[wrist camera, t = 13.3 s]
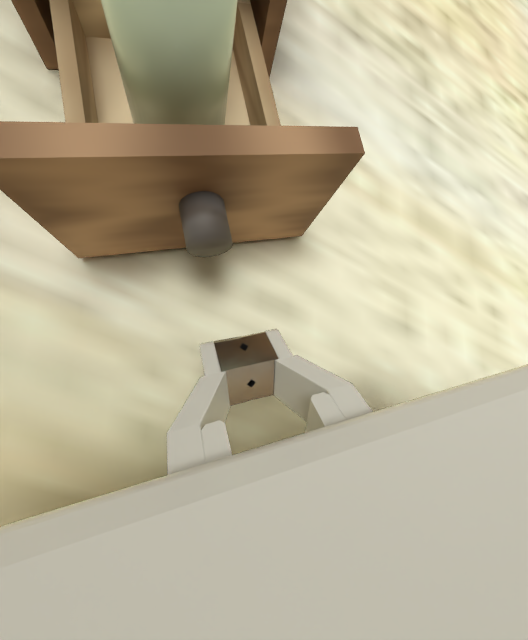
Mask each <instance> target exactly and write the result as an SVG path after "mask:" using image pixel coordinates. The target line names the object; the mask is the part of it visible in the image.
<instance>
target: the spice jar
mask: <svg viewBox="0 0 528 640" xmlns="http://www.w3.org/2000/svg"><path fill="white" fill-rule="evenodd" d="M101 3H102V7H103V10H104V14H105V18H106V22H107V25H108V29H109V33H110V37H111V41H112V44H113V48H114V52H115V56H116V59H117V63H118V67H119V71H120V74H121V78H122V82H123V86H124V89H125V93H126V97H127V101H128V104H129V108H130V112H131V116H132V119H133V123H134V124H195V125H225V117H226V108H227V98H228V88H229V78H230V68H231V59H232V49H233V39H234V29H235V19H236V9H237V0H101Z"/></svg>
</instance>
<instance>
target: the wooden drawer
mask: <svg viewBox="0 0 528 640" xmlns="http://www.w3.org/2000/svg"><path fill="white" fill-rule="evenodd" d="M49 1H50V9H51V16H52V24H53V31H54V39H55V46H56V54H57V61H58V69H59V76H60V84H61V91H62V99H63V106H64V114H65V121H66V122H2V121H0V190H1V191H3V192H4V193H5V194H6V195H7V196H8V197H9V198H10V199H12V200H13V201H14V202H15V203H16V204H17V205H18V206H20V207H21V208H22V209H23V210H24V211H25V212H26V213H28V214H29V215H30V216H31V217H32V218H33V219H34V220H36V221H37V222H38V223H39V224H40V225H41V226H42V227H44V228H45V229H46V230H47V231H48V232H49V233H50V234H52V235H53V236H54V237H55V238H56V239H57V240H58V241H60V242H61V243H62V244H63V245H64V246H65V247H66V248H68V249H69V250H70V251H71V252H72V253H73V254H74V255H76V256H77V257H78V258H86V257H96V256H106V255H116V254H126V253H136V252H146V251H156V250H166V249H176V248H186V249H187V252H188V253H189V254H191V255H193V256H198V257H210V256H216V255H220V254H222V253H225V252H227V251H228V250H229V249H231V247H232V245H233V243H236V242H246V241H255V240H265V239H275V238H285V237H295V236H302V235H303V234H304V232H305V231H306V230H307V228H308V227H309V226H310V225H311V223H312V222H313V221H314V219H315V218H316V217H317V215H318V214H319V213H320V211H321V210H322V209H323V207H324V206H325V205H326V204H327V202H328V201H329V200H330V198H331V197H332V196H333V194H334V193H335V192H336V190H337V189H338V188H339V186H340V185H341V184H342V183H343V181H344V180H345V179H346V177H347V176H348V175H349V173H350V172H351V171H352V169H353V168H354V167H355V166H356V164H357V163H358V162H359V160H360V159H361V158H362V156H363V155H364V154H365V152H364V148H363V145H362V141H361V138H360V134H359V131H358V127H324V126H281V125H280V121H279V117H278V113H277V108H276V104H275V100H274V96H273V92H272V88H271V84H270V80H269V76H268V72H267V68H266V64H265V60H264V56H263V52H262V48H261V44H260V39H259V35H258V31H257V27H256V23H255V19H254V15H253V11H252V7H251V3H250V0H237V9H236V19H235V29H234V39H233V49H232V59H231V68H230V78H229V88H228V98H227V108H226V117H225V125H195V124H134V123H133V119H132V116H131V112H130V108H129V104H128V101H127V97H126V93H125V89H124V86H123V82H122V78H121V74H120V71H119V67H118V63H117V59H116V56H115V52H114V48H113V44H112V41H111V37H110V33H109V29H108V25H107V22H106V18H105V14H104V10H103V7H102V3H101V0H49Z"/></svg>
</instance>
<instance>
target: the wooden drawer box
mask: <svg viewBox="0 0 528 640" xmlns="http://www.w3.org/2000/svg"><path fill="white" fill-rule="evenodd" d="M11 1H12V2H13V4H14V6H15V8H16V10H17V12H18V14H19V16H20V18H21V20H22V22H23V24H24V25H25V27H26V29H27V31H28V33H29V35H30V37H31V39H32V41H33V43H34V45H35V47H36V49H37V50H38V52H39V54H40V56H41V58H42V60H43V62H44V64H45V66H46V68H47V69H58V61H57V54H56V46H55V39H54V31H53V24H52V16H51V9H50V1H49V0H11ZM250 3H251V7H252V11H253V15H254V19H255V23H256V27H257V31H258V35H259V39H260V44H261V48H262V52H263V56H264V60H265V64H266V68H267V72H268V76H270V72H271V68H272V63H273V59H274V55H275V50H276V46H277V42H278V38H279V33H280V29H281V25H282V20H283V16H284V12H285V7H286V3H287V0H250Z"/></svg>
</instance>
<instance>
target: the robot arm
mask: <svg viewBox="0 0 528 640" xmlns="http://www.w3.org/2000/svg"><path fill="white" fill-rule="evenodd" d="M199 347H200V353H201V358H202V364H203V370H204V375H205V376H202V377H200V379H199V380H198V382H197V384H196V385H195V387H194V389H193V390H192V392H191V394H190V395H189V397H188V399H187V400H186V402H185V404H184V405H183V407H182V409H181V410H180V412H179V414H178V415H177V417H176V419H175V421H174V422H173V424H172V426H171V427H170V429H169V431H168V432H167V474H168V475H166V476H163V477H159V478H156V479H153V480H150V481H146V482H143V483H140V484H137V485H133V486H130V487H127V488H124V489H120V490H117V491H114V492H111V493H107V494H104V495H101V496H98V497H94V498H91V499H88V500H85V501H81V502H78V503H75V504H72V505H68V506H65V507H62V508H59V509H55V510H52V511H49V512H45V513H42V514H39V515H36V516H32V517H29V518H26V519H23V520H19V521H16V522H13V523H10V524H6V525H3V526H0V640H528V364H527V365H524V366H521V367H518V368H514V369H511V370H508V371H505V372H501V373H498V374H495V375H491V376H488V377H485V378H482V379H478V380H475V381H472V382H469V383H465V384H462V385H459V386H456V387H452V388H449V389H446V390H443V391H439V392H436V393H433V394H430V395H426V396H423V397H420V398H417V399H413V400H410V401H407V402H404V403H400V404H397V405H394V406H390V407H387V408H384V409H381V410H377V411H374V412H373V411H372V409H371V408H370V407H369V405H368V404H367V403H366V401H365V400H364V399H363V397H362V396H361V395H360V393H359V392H358V391H357V389H356V388H355V387H354V385H353V384H352V383H350V382H348V381H346V380H344V379H342V378H340V377H339V376H337V375H335V374H333V373H331V372H329V371H327V370H325V369H323V368H321V367H319V366H317V365H315V364H313V363H311V362H309V361H308V360H306V359H304V358H302V357H300V356H298V355H295V356H293V354H292V353H291V351H290V349H289V347H288V346H287V344H286V342H285V341H284V339H283V337H282V336H281V334H280V332H279V330H277V329H273V330H268V331H264V332H260V333H255V334H250V335H245V336H240V337H234V338H229V339H223V340H217V341H212V342H207V343H201V344H199ZM270 395H274V396H275V397H276V398H277V399H279V400H280V401H281V402H282V403H284V404H285V405H286V406H287V407H289V408H290V409H291V410H292V411H294V412H295V413H296V414H297V415H299V416H300V417H301V418H302V419H304V420H305V421H306V422H307V423H306V429H305V433H303V434H300V435H296V436H293V437H290V438H287V439H283V440H280V441H277V442H274V443H270V444H267V445H264V446H260V447H257V448H254V449H251V450H247V451H244V452H241V453H238V454H234V455H232V452H231V447H230V443H229V439H228V434H227V430H226V425H225V421H226V418H227V415H228V412H229V409H230V406H232V405H236V404H239V403H243V402H246V401H249V400H253V399H258V398H262V397H266V396H270Z"/></svg>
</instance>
